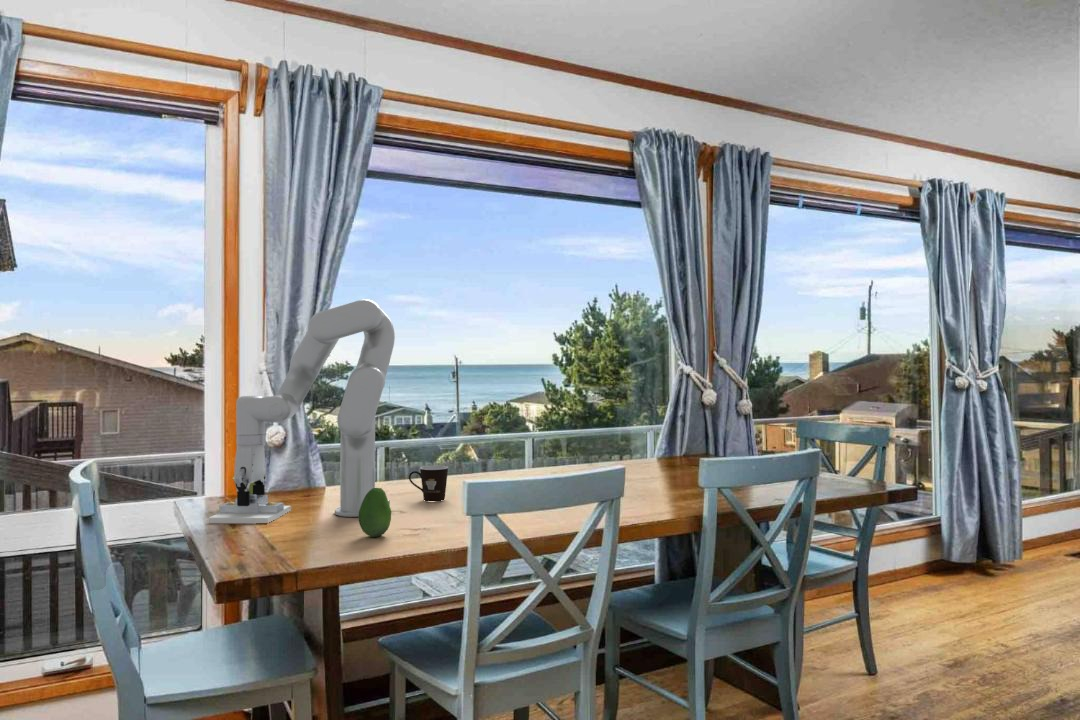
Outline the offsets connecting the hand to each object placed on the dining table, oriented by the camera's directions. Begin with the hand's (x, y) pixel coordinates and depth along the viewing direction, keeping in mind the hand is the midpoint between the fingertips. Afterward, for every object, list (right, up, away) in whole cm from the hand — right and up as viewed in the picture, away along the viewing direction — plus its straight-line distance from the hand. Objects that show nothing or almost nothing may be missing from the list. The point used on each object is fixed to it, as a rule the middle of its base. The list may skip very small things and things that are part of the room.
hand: (251, 502), depth 202 cm
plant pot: (-6, -4, +15) cm, 17 cm away
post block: (0, -4, 0) cm, 4 cm away
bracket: (0, -3, 0) cm, 3 cm away
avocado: (+39, -4, -22) cm, 45 cm away
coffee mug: (+46, -4, +24) cm, 52 cm away
